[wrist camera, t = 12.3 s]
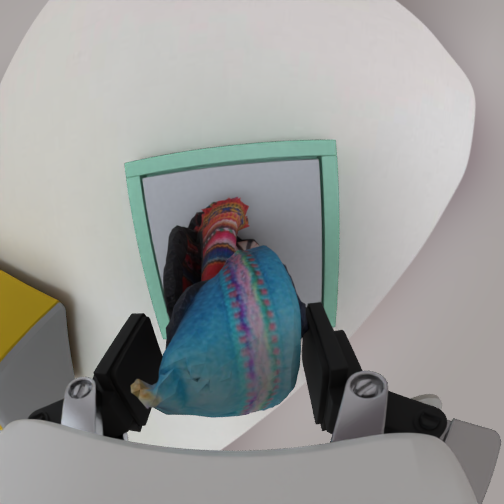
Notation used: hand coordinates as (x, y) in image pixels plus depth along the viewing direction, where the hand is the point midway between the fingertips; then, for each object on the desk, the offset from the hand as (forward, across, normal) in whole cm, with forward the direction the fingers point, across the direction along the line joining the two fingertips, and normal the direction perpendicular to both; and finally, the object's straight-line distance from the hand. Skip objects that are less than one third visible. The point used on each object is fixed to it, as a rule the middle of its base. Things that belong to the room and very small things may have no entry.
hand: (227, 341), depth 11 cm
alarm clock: (+14, +31, +8) cm, 35 cm away
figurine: (+11, 0, 0) cm, 11 cm away
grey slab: (+12, 0, 0) cm, 12 cm away
